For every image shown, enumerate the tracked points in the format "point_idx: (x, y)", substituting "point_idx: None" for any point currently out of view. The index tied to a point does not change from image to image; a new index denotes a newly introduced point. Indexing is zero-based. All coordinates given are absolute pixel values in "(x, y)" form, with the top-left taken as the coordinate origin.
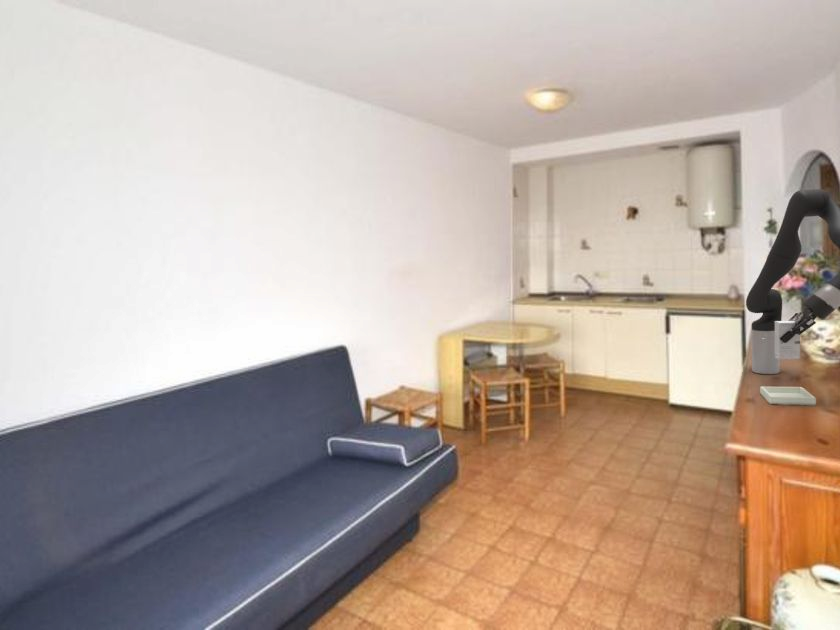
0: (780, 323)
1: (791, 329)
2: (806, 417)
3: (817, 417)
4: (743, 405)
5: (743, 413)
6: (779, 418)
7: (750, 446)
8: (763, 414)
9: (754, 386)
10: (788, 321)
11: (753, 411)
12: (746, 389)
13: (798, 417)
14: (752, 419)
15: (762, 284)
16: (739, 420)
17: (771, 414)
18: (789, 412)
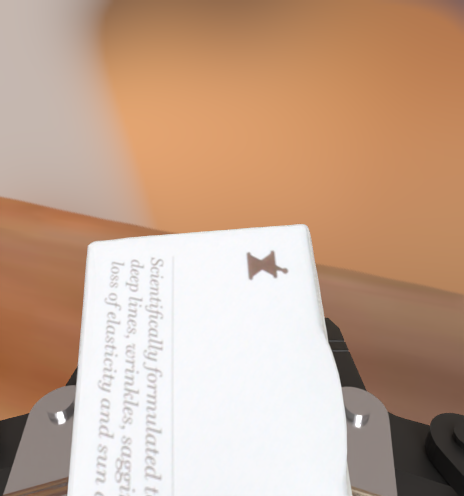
0: (91, 263)
1: (36, 410)
2: (11, 377)
3: (8, 411)
4: (149, 233)
5: (65, 220)
6: (9, 298)
7: None
8: (52, 266)
9: (420, 312)
10: (180, 429)
11: (84, 247)
12: (364, 277)
13: (14, 353)
14: (7, 230)
15: None
16: (2, 201)
17: (51, 286)
18: (69, 342)
